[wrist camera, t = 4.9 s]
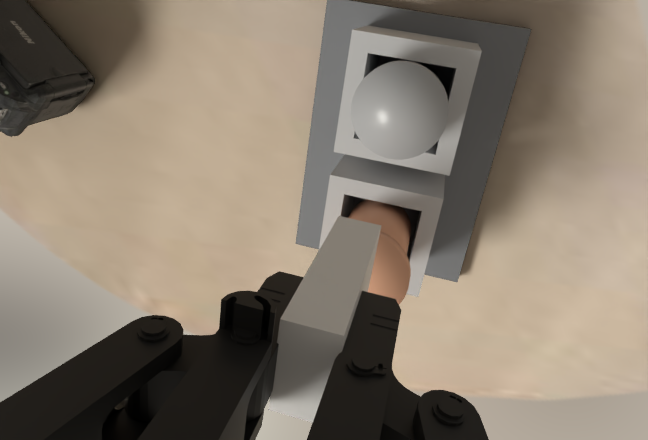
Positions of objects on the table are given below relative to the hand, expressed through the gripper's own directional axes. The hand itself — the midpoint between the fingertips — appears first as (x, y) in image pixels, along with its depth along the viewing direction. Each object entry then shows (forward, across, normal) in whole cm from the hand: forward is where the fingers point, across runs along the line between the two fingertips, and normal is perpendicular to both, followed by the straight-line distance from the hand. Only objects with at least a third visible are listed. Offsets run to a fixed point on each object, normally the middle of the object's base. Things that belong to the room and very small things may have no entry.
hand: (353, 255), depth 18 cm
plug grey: (+16, 0, +4) cm, 16 cm away
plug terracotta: (+14, 0, -5) cm, 14 cm away
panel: (+18, 0, 0) cm, 18 cm away
